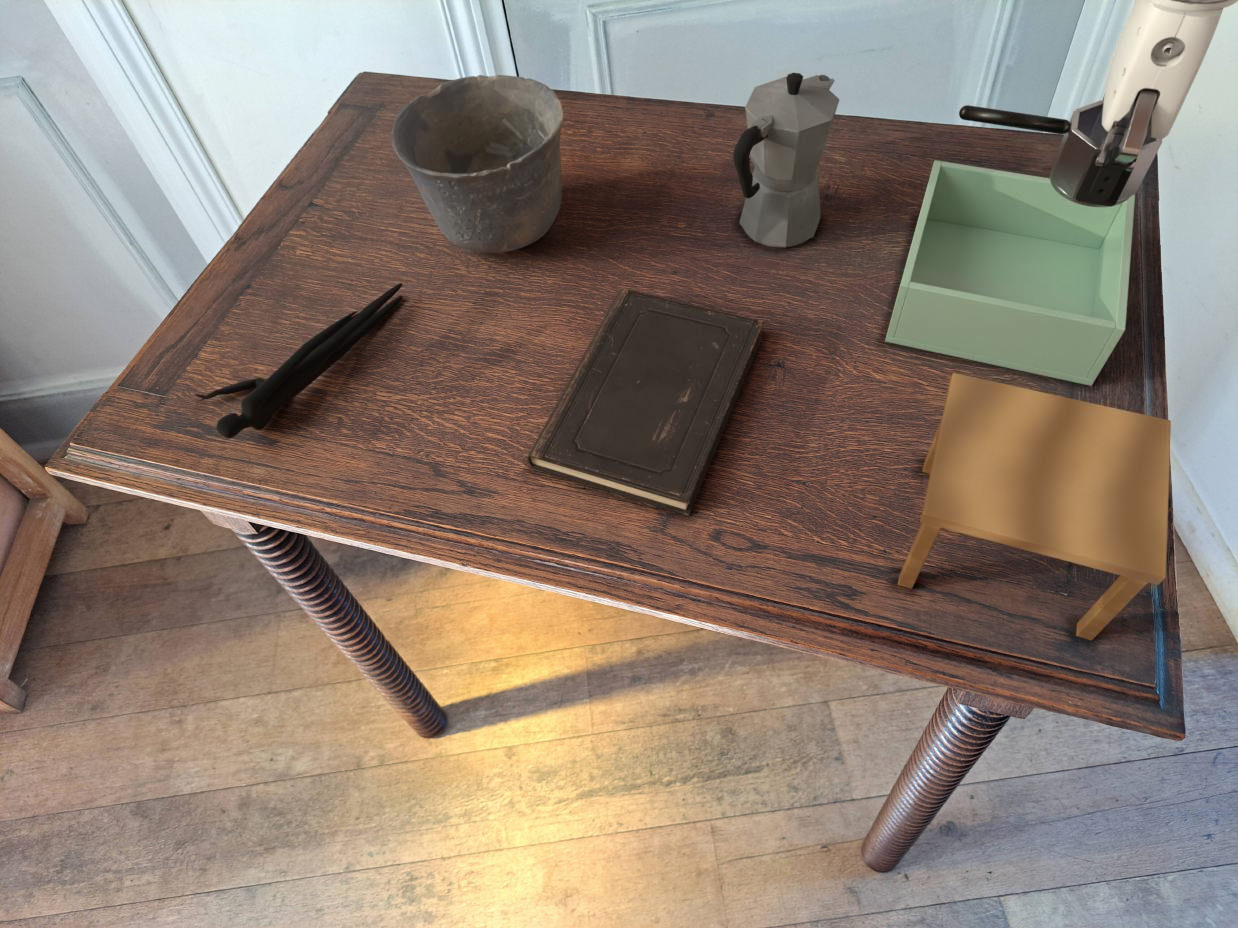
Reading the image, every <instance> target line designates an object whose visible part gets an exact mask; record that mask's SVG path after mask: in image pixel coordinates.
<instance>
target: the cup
mask: <svg viewBox="0 0 1238 928" xmlns="http://www.w3.org/2000/svg"><path fill="white" fill-rule="evenodd" d="M563 123H564V110H563V105H562V102H561V100H560V99H559V97H558V96H557V94H556V92H555V91H554V90H552V89H551V88H550V87H549V86H548V85H547V84H544V83H542V82H540V81H538V80H536V79H533V78H530V77H528V78H525V77H523V76H514V75H504V74H495V75H491V76H489V75H483V74H478V75H477V76H475V75H471V76H464V77H459V78H456V79H455V78H454V79H451V80H448V81H446V82H443V83H441V84H439V85H438V86H437V87H436V88H435V89H433V90H432V91H430V92H429V93H426V94H419V95H418V96H416V97H415V98H414V99H413V100H412V101H411V102H409V103H406V105H404V106H403V107H402V108H401V109H400V110H399V111H398V113H397V114H396V117H395V119H394V121H393V124H392V128H391V134H390V141H391V146H392V149H393V151H394V152H395V154H396V155H397V157H398V158H399V159H400V160H401V162H402V163H403V164H404V166H405V168H406V169H407V171H408V172H409V174H410V176H411V178H412V180H413V182H414V184H415V186H416V187H417V189H418V191H419V194H420V196H421V198H422V200H423V202H424V204H425V206H426V208H427V209H428V211H429V213H430V214H431V217H432V218H433V220H434V222H435V224H436V225H437V227H438V229H439V230H440V232H441V233H442V234H443V236H444V237H445V238H446V239H447V240H448V241H450V242H451V243H452V244H453V245H455V246H457V247H459V248H461V249H465V250H468V251H471V252H475V253H476V252H477V253H485V254H486V253H488V254H493V253H508V252H513V251H517V250H519V249H523V248H525V247H527V246H529V245H531V244H533V243H535V242H538V240H539V239H541V238H542V237H544V236H545V234H547V233H548V232H549V231H550V229H551V227H552V226H553V224H554V222H555V220H556V218H557V216H558V214H559V212H560V209H561V205H562V199H563V180H562V179H563V178H562V162H561V161H562V159H561V147H560V145H561V144H560V143H561V142H560V141H561V133H562V128H563Z"/></svg>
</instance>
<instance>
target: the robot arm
mask: <svg viewBox="0 0 1238 928" xmlns="http://www.w3.org/2000/svg"><path fill="white" fill-rule="evenodd" d="M1237 2H1238V0H1135V1H1134V4H1133V6H1132V8H1131V10H1130V13H1129V15H1128V16H1127V19H1126V21H1125V24H1124V26H1123V29H1122V32H1121V34H1120V36H1119V39H1118V40H1117V43H1116V47H1115V49H1114V51H1113V55H1112V58H1111V60H1110V63H1109V67H1108V70H1107V75H1106V81H1105V82H1106V83H1105V88H1104V93H1103V97H1102V100H1104V104H1103V114H1102V126H1103V127H1104V129H1105V130H1106V134H1105V136H1104V139H1103V142H1102V145H1101V147H1100V150H1099V153H1098V156H1097V158H1093V157H1092V160H1091V162H1090V164H1089V166H1088V168H1087V171H1086V173H1085V175H1084V177H1083V180H1082V182H1081V184H1080V186H1079V188H1078V191H1077V193H1076V200H1077V201H1079V202H1085V203H1091V204H1097V205H1103V206H1109V207H1111V206H1114V205H1115V204H1116V203H1117V201H1118V199H1119V197H1120V195H1121V193H1122V191H1123V189H1124V187H1125V185H1126V183H1127V181H1128V179H1129V177H1130V175H1131V173H1132V171H1133V169H1134V166H1135V163H1136V161H1137V158H1138V156H1139V153H1140V150H1141V148H1142V145H1143V143H1144V140H1145V137H1146V135H1147V132H1148V130H1149V127H1150V125H1151V137H1153V138H1157V139H1159V140H1161V139H1162V140H1163V139H1165V138H1166V137H1168V136H1169V134H1170V132H1171V130H1172V128H1173V126H1174V124H1175V122H1176V120H1177V117H1178V116H1179V113H1180V111H1181V109H1182V107H1183V105H1184V103H1185V101H1186V98H1187V96H1188V93H1189V92H1190V90H1191V87H1192V85H1193V84H1194V82H1195V79H1196V77H1197V75H1198V72H1199V71H1200V68H1201V66H1202V64H1203V62H1204V59H1205V57H1206V55H1207V53H1208V50H1209V48H1210V45H1211V43H1212V40H1213V38H1214V36H1215V34H1216V30H1217V28H1218V25H1219V22H1220V19H1221V17H1222V13H1223V11H1224V9H1225V8H1229V7H1230V6H1232V5H1235V4H1236V3H1237ZM1122 118H1129V121H1128V124H1127V126H1121V125H1116V124H1117V122H1119V121H1120V120H1121V119H1122ZM1115 134H1118V135H1124V137H1123V139H1122V142H1121V143H1120V144H1119V147H1113V148H1112V149H1110V146H1111V144H1112V141H1113V138H1114V136H1115ZM1109 149H1110V150H1109Z"/></svg>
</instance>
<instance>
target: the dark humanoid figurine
mask: <svg viewBox="0 0 1238 928" xmlns="http://www.w3.org/2000/svg"><path fill="white" fill-rule="evenodd" d="M402 287H403V283H402V282H399V283H397V284H396V285H394V286H392V287H391V288H390V289H388V290H387V291H385V292H383V294H381V295H380V296H379V297H377V298H376V299H374V300H373V301H371V302H370V303H369V304H367V305H366V306H365V307H364V308H363V309H361V310H360V311H359V310H355V311H353V312H351V313H348V314H347V315H346V316H343V317H341V318H340V319H338V320H337V321H336V322H334V323H332V324H330V325H329V326H328V327H326V328H325V329H323V330H322V331H320V332H319V333H317V334H316V335H314V336H313V337H311V338H310V339H309V340H307V341H306V342H304V343H303V344H302V345H301V346H300V347H299V348H298V349H297V350H295V352H294V353H293V354H292V355H291V356H290V357H289V358H288V359H287V360H286V361H284V363H282V364H281V365H280V366H279V367H278V368H277V369H276V370H275V371H274V372H273V373H271V375H269V376H268V377H267V378H266V379H264V378H262V377H256V378H252V379H247V380H242V381H240V382H236V383H233V384H230V385H227V386H224V387H222V388H218V389H215V390H213V391H211V392H209V393H207V394H200V393H199V394H198V393H194V396H196V397H198V398H200V399H199V400H198V402H202V401H204V400H209V399H212V398H215V397H217V396H220V395H221V396H223V395H224V396H225V395H227V396H228V395H232V394H235V393H240V392H244V391H248V390H251V389H253V390H252V391H251V392H249V393H248V394H247V395H246V396H244V397H243V398H242V400H241V403H240V407H241V413H240V415H239V414H238V413H236V412H231V413H229V414H226V415H224V416H222V417H220V418H219V419H218V421H217V422H216V427H215V429H216V431H217V433H218V434H219V435H221V436H222V437H224V438H226V439H233V438H235V437H236V436H237V435H238V434H239V433H241V432H242V431H243V430H245V429H247V428H252V429H253V430H256V431H262V430H263V429H264V428H265V427H266V426H267V425H268V423H269V422H270V420H271V419H272V418H273V417H274V416H275V414H276V413H277V412H278V411H279V410H280V409H281V408H283V407H284V406H285V405H287V404H288V403H289V402H290V401H292V400H293V399H294V398H295V397H296V396H298V395H299V394H301V392H303V391H304V390H306V388H308V387H309V386H310V385H311V384H313V383H314V382H315V381H316V380H317V379H318V378H319V377H320V376H322V375H323V374H324V373H325V372H326V371H327V370H328V369H329V368H331V367H332V366H333V365H334V364H336V363H337V362H338V361H339V360H340V359H342V357H344V356H345V355H346V354H347V353H348V352H349V351H350V350H351V349H352V348H353V347H354V346H355V345H356V344H357V343H358V342H359V341H361V340H362V339H363V338H364V337H366V336H367V335H368V334H370V332H372V330H374V329H375V328H376V327H377V326H378V325H380V324H381V322H382V321H383V320H384V319H385V318H386V317H387V316H388V315H389V314H390V313H391V312H392V311H394V310H395V308H396V307H398V305H399V304H400V303H401V301H403V298H404V297H403V295H399V296H397V297H395V298H394V299H393V300H391V299H392V298H393V297H394V296H395V295H396V294H397V293H398V292H399V291H400V290H401V288H402ZM390 300H391V301H390ZM388 301H390V302H388ZM387 302H388V303H387ZM386 303H387V304H386Z"/></svg>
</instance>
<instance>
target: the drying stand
mask: <svg viewBox="0 0 1238 928" xmlns="http://www.w3.org/2000/svg"><path fill="white" fill-rule="evenodd" d="M1171 423H1172V421H1171V420H1170V419H1165V418H1162V417H1156V416H1151V415H1147V414H1143V413H1138V412H1133V411H1129V410H1125V409H1120V408H1116V407H1111V406H1106V405H1102V404H1096V403H1093V402H1088V401H1084V400H1079V399H1074V398H1069V397H1065V396H1062V395H1058V394H1057V395H1056V394H1053V393H1048V392H1043V391H1038V390H1033V389H1029V388H1025V387H1021V386H1014V385H1010V384H1006V383H1001V382H997V381H993V380H988V379H983V378H979V377H974V376H970V375H966V374H961V373H958V372H957V373H956V372H953V373H952V374H951V377H950V380H949V383H948V387H947V392H946V398H945V402H944V407H943V411H942V416H941V418H940V421H939V424H938V427H937V429H936V432H935V434H934V437H933V439H932V442H931V443H930V447H929V449H928V451H927V454H926V457H925V459H924V461H923V462H924V463H923V466H922V473H924V474H929V477H928V483H927V487H926V491H925V498H924V501H923V506H922V509H921V510H922V511H921V515H920V520H919V522H920V523H921V524H920V526H919V529H918V532H917V533H916V536H915V538H914V540H913V543H912V544H911V547H910V550H909V552H908V554H907V557H906V559H905V561H904V563H903V565H902V567H901V570H900V573H899V577H898V581H897V585H898V586H900V587H903V588H907V589H913V587H914V585H915V583H916V582H917V579H918V578H919V575H920V573H921V571H922V569H923V567H924V565H925V562H926V560H927V558H928V556H929V554H930V552H931V549H932V548H933V546H934V543H935V541H936V539H937V537H938V535H939V533H940V531H941V529H945V530H948V531H952V532H956V533H960V534H963V535H966V536H970V537H974V538H979V539H982V540H986V541H990V542H994V543H997V544H1001V545H1005V546H1008V547H1012V548H1016V549H1020V550H1024V551H1027V552H1030V553H1031V552H1032V553H1035V554H1039V555H1042V556H1045V557H1050V558H1053V559H1057V560H1061V561H1065V562H1069V563H1072V564H1077V565H1079V566H1084V567H1088V568H1091V569H1095V570H1098V571H1099V570H1100V571H1103V572H1106V573H1110V574H1114V575H1118V577H1117V579H1115V580H1114V582H1113V583H1112V584H1111V585H1110V586H1109V587H1108V588H1107V589H1106V591H1105V592H1104V593H1103V594H1102V595H1101V596H1100V597H1099V599H1098V600H1096V602H1095V603H1094V604H1093V605H1092V606H1091V607H1090V608H1089V610H1087V612H1086V613H1085V614H1084V615H1083V616H1082V617H1081V618H1080V619H1079V621H1078V622H1077V623H1076V632H1075V636H1076V637H1079V638H1082V639H1085V640H1089V641H1093V640H1094V639H1095V638H1096V637H1097V636H1098V635H1099V634H1100V633H1101V632H1102V631H1103V630H1104V629H1105V628H1106V627H1107V625H1109V624H1110V623H1111V622H1112V620H1113V619H1114V618H1116V616H1117V615H1119V613H1120V612H1121V611H1122V610H1123V609H1124V608H1125V607H1126V606H1127V605H1128V604H1129V603H1130V602H1131V601H1132V600H1133V599H1134V598H1135V597H1136V596H1137V595H1138V594H1139V593H1140V592H1141V591H1142V589H1144V588H1145V587H1146V586H1147V585H1148V584H1152V585H1155V586H1159V585H1160V584H1162V582H1164V580H1165V579H1166V578H1167V553H1168V528H1169V527H1168V525H1169V524H1168V523H1169V491H1170V463H1171V460H1170V458H1171V430H1172V428H1171V427H1172V424H1171Z"/></svg>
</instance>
